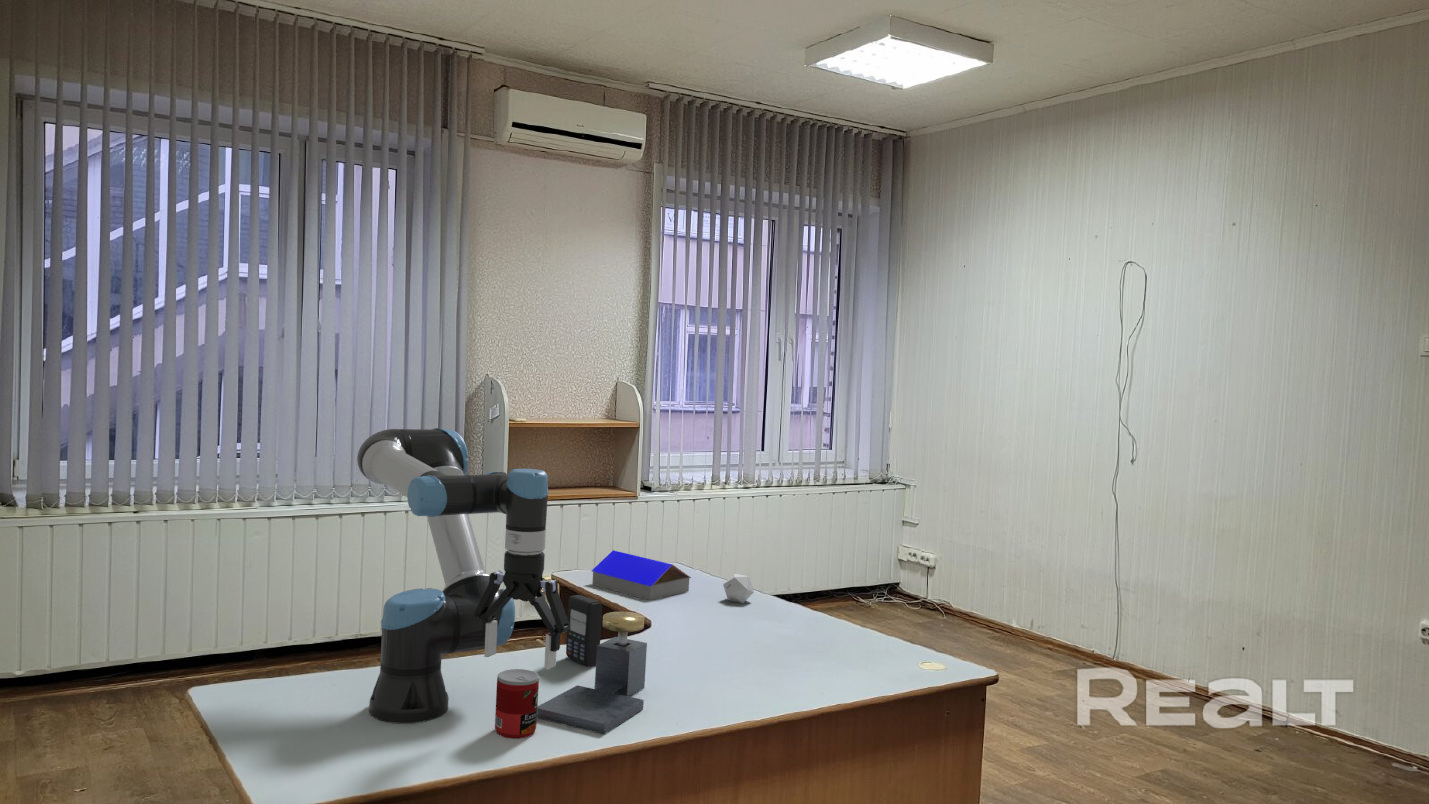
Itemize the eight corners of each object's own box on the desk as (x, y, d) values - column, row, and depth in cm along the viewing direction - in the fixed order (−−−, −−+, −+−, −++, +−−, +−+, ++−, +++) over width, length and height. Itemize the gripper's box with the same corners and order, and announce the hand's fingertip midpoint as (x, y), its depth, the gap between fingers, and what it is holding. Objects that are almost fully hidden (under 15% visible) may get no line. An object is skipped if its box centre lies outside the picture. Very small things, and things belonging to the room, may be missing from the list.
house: (631, 577, 331) (633, 546, 330) (690, 592, 316) (692, 560, 315) (590, 585, 316) (592, 553, 316) (650, 602, 301) (652, 568, 300)
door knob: (592, 663, 220) (595, 618, 220) (613, 653, 229) (615, 609, 228) (629, 671, 217) (632, 625, 216) (649, 660, 225) (651, 615, 224)
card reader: (562, 657, 243) (566, 595, 242) (576, 654, 245) (579, 593, 245) (586, 667, 236) (589, 604, 235) (600, 664, 239) (603, 601, 238)
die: (724, 598, 312) (716, 576, 306) (748, 584, 314) (740, 562, 308) (736, 614, 305) (728, 592, 300) (760, 599, 307) (753, 578, 302)
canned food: (527, 741, 191) (530, 684, 191) (487, 736, 193) (490, 678, 192) (542, 727, 199) (545, 671, 198) (503, 721, 200) (506, 666, 200)
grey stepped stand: (534, 717, 203) (537, 668, 203) (604, 679, 229) (607, 635, 228) (604, 734, 197) (607, 683, 196) (668, 692, 223) (671, 647, 222)
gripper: (458, 545, 195) (454, 655, 196) (570, 563, 185) (565, 678, 186) (482, 540, 202) (478, 645, 203) (591, 556, 192) (586, 667, 193)
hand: (519, 661), depth 195 cm, fingers open, 13 cm apart
